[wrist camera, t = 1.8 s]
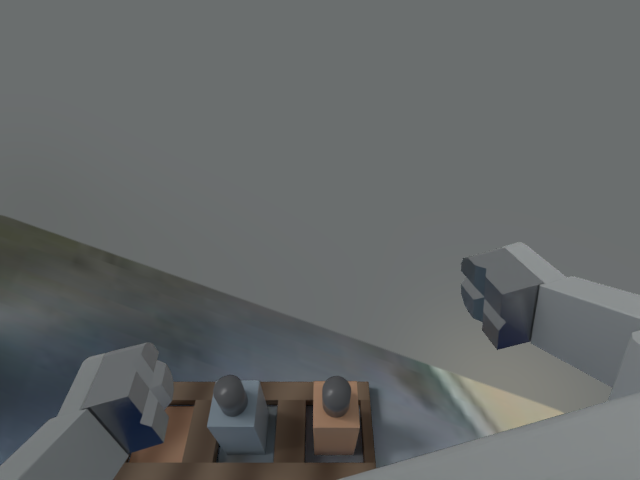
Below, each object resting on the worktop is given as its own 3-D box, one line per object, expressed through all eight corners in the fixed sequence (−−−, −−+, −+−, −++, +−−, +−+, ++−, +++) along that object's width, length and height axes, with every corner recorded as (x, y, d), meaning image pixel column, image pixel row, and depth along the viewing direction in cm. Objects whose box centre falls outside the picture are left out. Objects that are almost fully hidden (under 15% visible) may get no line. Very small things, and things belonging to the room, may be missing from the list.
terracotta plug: (314, 455, 38) (312, 415, 30) (315, 414, 41) (312, 367, 32) (353, 455, 38) (362, 415, 30) (351, 414, 41) (359, 367, 32)
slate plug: (226, 454, 38) (198, 414, 29) (232, 413, 41) (208, 365, 32) (265, 454, 38) (249, 414, 29) (269, 413, 41) (255, 365, 32)
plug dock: (109, 489, 36) (102, 486, 35) (142, 387, 43) (137, 381, 42) (375, 489, 36) (377, 486, 35) (367, 387, 43) (368, 381, 42)
